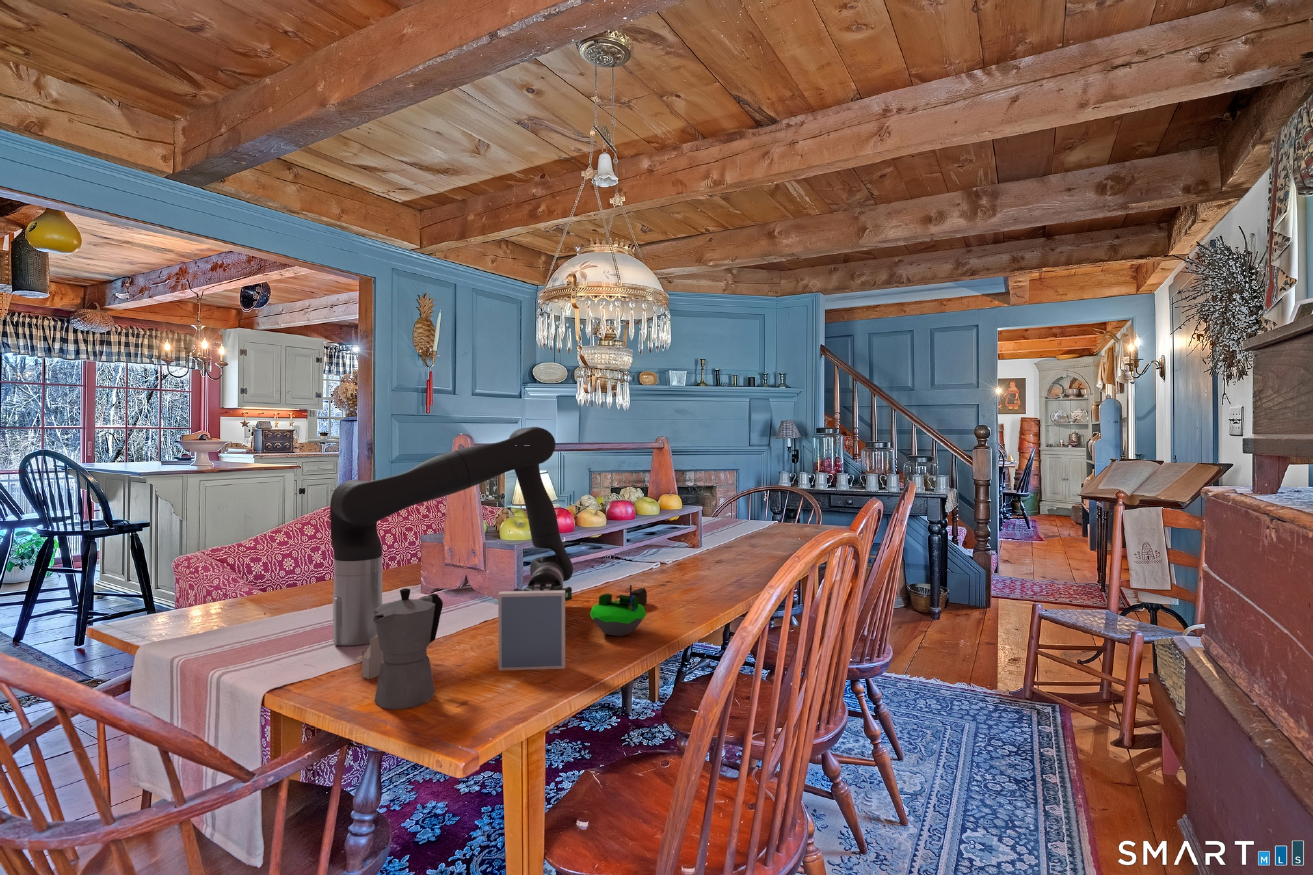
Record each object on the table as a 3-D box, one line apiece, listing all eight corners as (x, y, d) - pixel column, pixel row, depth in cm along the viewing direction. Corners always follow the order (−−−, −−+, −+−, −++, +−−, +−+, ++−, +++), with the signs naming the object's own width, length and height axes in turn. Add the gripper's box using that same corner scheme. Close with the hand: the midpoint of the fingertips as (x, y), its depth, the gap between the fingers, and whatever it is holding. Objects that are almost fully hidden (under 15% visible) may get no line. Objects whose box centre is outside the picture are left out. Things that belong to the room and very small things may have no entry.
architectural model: (355, 678, 120) (355, 636, 120) (386, 666, 126) (386, 626, 126) (369, 681, 118) (369, 639, 118) (400, 669, 125) (399, 629, 125)
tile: (498, 670, 122) (498, 594, 122) (499, 666, 124) (499, 591, 124) (564, 668, 123) (564, 592, 123) (565, 665, 125) (565, 590, 125)
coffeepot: (398, 719, 102) (398, 600, 102) (351, 709, 105) (351, 594, 105) (463, 683, 116) (463, 579, 116) (419, 676, 119) (419, 575, 119)
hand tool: (613, 624, 153) (613, 604, 153) (599, 621, 155) (599, 601, 155) (655, 606, 169) (655, 587, 169) (642, 604, 171) (642, 585, 171)
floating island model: (654, 631, 147) (655, 581, 147) (626, 645, 137) (627, 591, 137) (608, 623, 153) (609, 575, 153) (578, 636, 143) (579, 584, 143)
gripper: (516, 569, 152) (505, 587, 134) (575, 567, 153) (572, 585, 135) (516, 602, 152) (506, 624, 135) (575, 600, 153) (572, 622, 136)
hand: (539, 604), depth 135 cm, fingers closed
